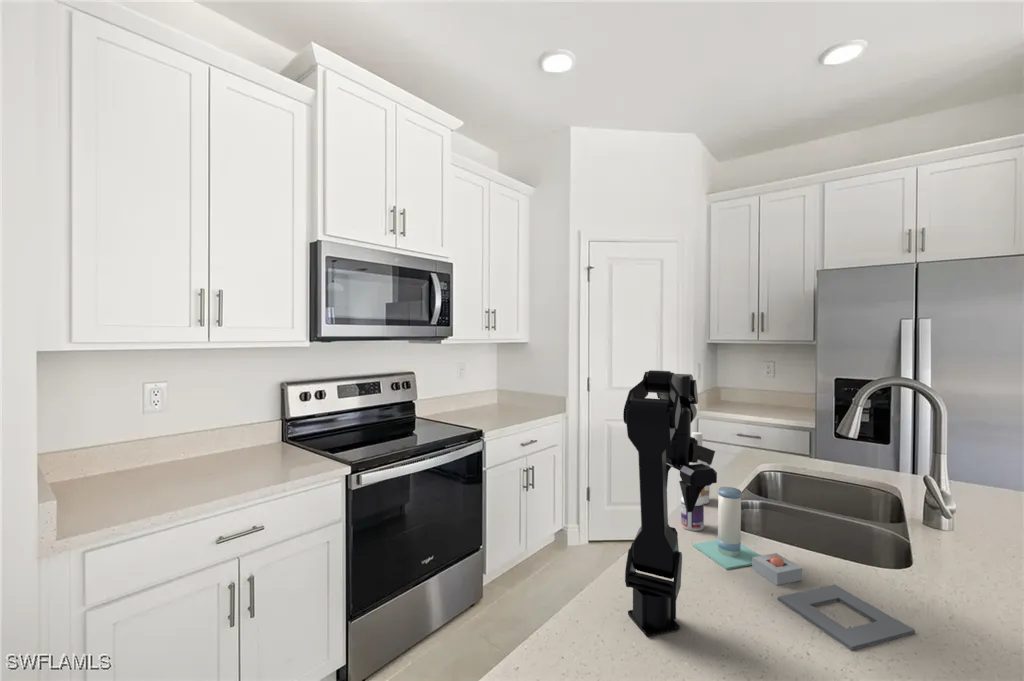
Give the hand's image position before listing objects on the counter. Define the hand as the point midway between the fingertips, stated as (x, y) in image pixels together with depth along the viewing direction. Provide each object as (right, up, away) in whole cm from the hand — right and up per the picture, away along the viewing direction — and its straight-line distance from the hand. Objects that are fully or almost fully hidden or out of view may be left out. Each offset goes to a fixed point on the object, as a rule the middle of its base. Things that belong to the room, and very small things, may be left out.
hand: (676, 503), depth 99 cm
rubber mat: (+13, -13, +4) cm, 19 cm away
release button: (+19, -12, -4) cm, 23 cm away
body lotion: (+19, -12, +35) cm, 42 cm away
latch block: (+19, -13, -4) cm, 24 cm away
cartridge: (+13, -12, +4) cm, 19 cm away
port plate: (+23, -14, -18) cm, 32 cm away
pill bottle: (+11, -13, +18) cm, 24 cm away
